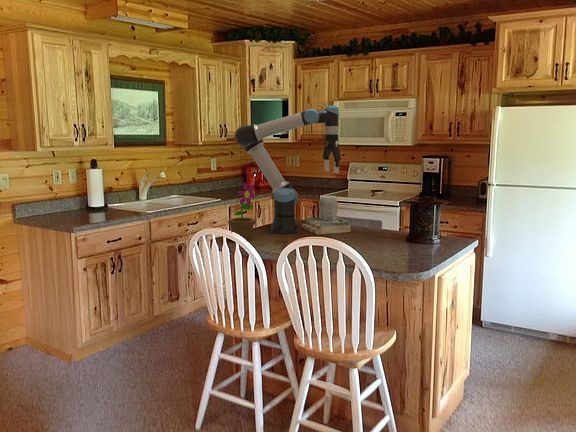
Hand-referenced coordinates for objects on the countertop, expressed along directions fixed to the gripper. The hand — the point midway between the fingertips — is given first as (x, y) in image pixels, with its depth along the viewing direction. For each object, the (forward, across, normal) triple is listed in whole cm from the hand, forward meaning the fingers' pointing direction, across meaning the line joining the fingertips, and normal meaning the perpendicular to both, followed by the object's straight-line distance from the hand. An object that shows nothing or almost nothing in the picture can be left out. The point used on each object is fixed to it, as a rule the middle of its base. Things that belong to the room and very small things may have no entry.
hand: (331, 172), depth 308 cm
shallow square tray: (+32, +4, -5) cm, 33 cm away
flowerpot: (+32, +14, -56) cm, 66 cm away
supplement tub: (+28, +4, -3) cm, 29 cm away
